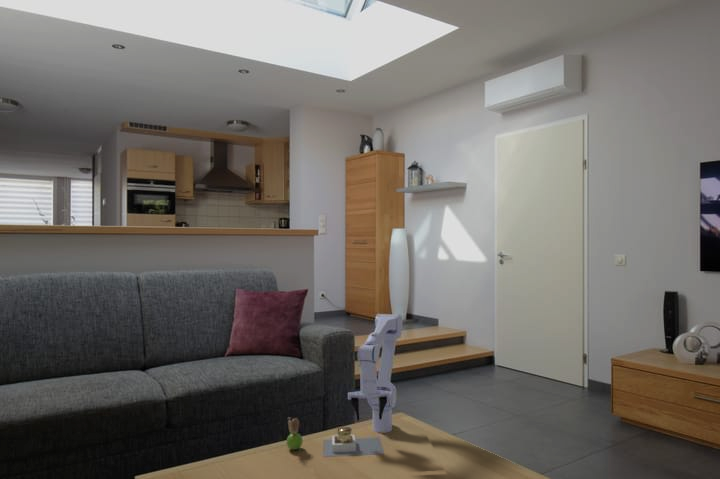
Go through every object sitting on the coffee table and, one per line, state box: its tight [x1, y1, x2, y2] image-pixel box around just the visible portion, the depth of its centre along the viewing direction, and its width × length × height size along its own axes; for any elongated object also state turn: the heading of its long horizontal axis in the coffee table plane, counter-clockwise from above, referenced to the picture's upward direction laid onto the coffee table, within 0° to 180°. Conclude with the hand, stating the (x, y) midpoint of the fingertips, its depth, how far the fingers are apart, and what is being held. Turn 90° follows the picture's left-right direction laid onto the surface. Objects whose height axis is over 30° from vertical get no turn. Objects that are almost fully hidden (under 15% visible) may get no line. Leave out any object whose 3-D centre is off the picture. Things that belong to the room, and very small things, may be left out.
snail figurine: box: [286, 417, 304, 451], centre depth 170 cm, size 5×6×12 cm
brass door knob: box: [336, 426, 352, 444], centre depth 169 cm, size 5×5×6 cm
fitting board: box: [322, 434, 385, 458], centre depth 169 cm, size 14×20×4 cm
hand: (369, 419), depth 172 cm, fingers open, 7 cm apart
